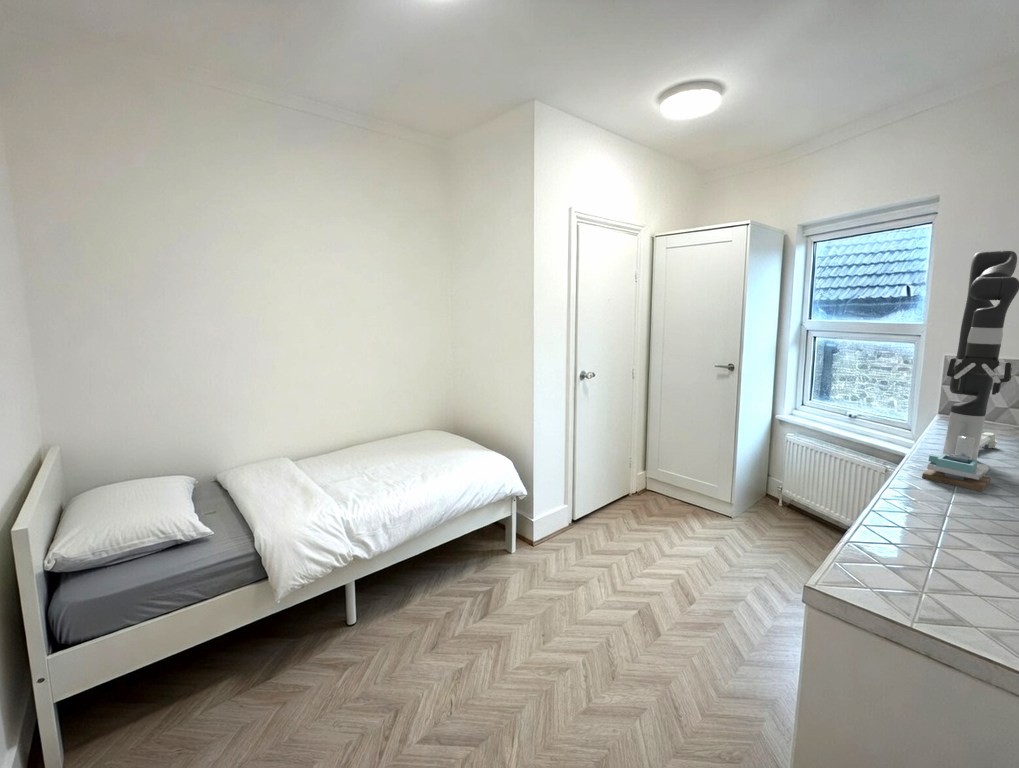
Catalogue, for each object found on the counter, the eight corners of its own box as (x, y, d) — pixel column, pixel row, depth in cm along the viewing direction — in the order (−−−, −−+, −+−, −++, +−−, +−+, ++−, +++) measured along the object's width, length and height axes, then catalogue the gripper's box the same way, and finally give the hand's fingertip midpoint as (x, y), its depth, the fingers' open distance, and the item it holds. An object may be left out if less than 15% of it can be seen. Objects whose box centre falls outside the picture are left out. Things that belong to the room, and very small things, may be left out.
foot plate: (932, 469, 159) (933, 465, 159) (990, 481, 148) (991, 477, 148) (921, 477, 151) (922, 473, 151) (981, 491, 140) (982, 486, 140)
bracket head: (932, 459, 155) (933, 452, 154) (976, 468, 146) (977, 460, 146) (925, 463, 150) (926, 456, 149) (970, 473, 141) (972, 465, 141)
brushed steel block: (946, 474, 150) (950, 453, 149) (965, 478, 147) (969, 457, 146) (944, 476, 148) (948, 455, 147) (963, 481, 144) (967, 459, 143)
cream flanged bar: (958, 443, 179) (983, 428, 190) (956, 459, 180) (980, 443, 192) (976, 447, 174) (1000, 431, 186) (974, 463, 176) (998, 446, 187)
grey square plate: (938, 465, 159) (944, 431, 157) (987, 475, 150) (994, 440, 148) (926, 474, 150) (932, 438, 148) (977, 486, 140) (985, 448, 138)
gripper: (1019, 342, 142) (1008, 394, 145) (956, 339, 153) (947, 387, 156) (1015, 344, 137) (1004, 397, 140) (950, 341, 148) (942, 390, 151)
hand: (974, 392), depth 148 cm, fingers open, 8 cm apart
